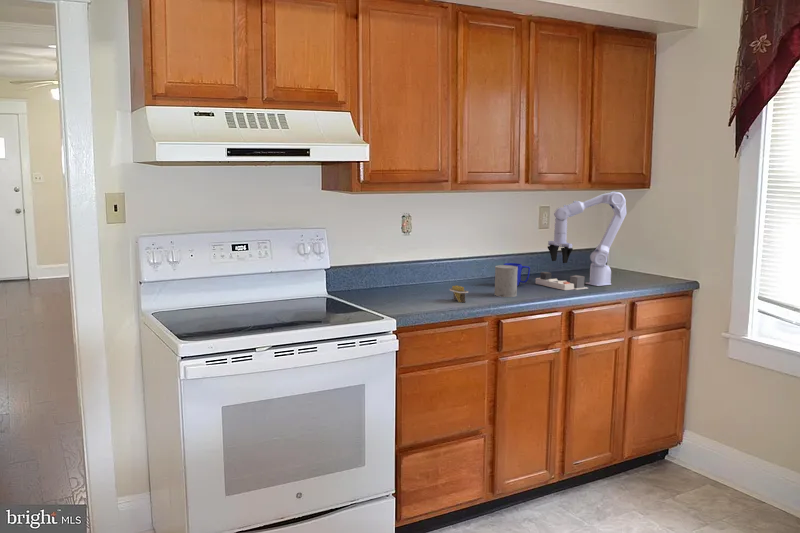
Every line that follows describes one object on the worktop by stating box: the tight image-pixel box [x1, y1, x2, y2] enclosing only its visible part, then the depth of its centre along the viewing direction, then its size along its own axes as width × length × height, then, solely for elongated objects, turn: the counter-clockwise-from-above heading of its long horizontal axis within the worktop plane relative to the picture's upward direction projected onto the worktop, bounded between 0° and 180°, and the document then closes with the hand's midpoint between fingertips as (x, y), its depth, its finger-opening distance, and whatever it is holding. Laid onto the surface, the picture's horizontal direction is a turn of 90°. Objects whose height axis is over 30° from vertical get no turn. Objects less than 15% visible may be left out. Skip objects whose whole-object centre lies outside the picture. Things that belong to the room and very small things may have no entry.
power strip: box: [535, 271, 575, 291], centre depth 314 cm, size 6×20×6 cm, turn 29°
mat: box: [573, 286, 589, 291], centre depth 310 cm, size 7×7×1 cm
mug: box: [503, 262, 531, 287], centre depth 314 cm, size 8×12×10 cm
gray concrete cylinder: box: [494, 264, 518, 298], centre depth 290 cm, size 10×10×12 cm
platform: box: [449, 284, 469, 303], centre depth 276 cm, size 12×18×7 cm, turn 31°
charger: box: [569, 274, 586, 288], centre depth 310 cm, size 4×5×5 cm
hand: (559, 261), depth 320 cm, fingers open, 7 cm apart
